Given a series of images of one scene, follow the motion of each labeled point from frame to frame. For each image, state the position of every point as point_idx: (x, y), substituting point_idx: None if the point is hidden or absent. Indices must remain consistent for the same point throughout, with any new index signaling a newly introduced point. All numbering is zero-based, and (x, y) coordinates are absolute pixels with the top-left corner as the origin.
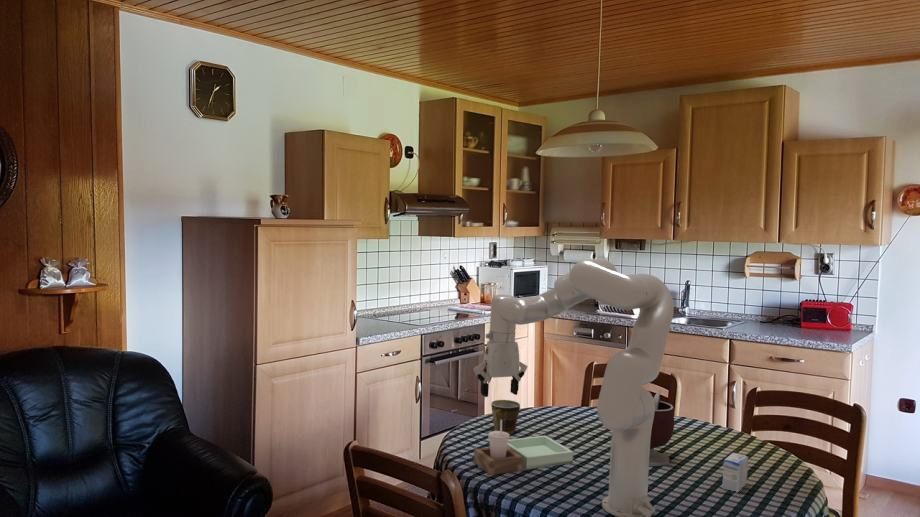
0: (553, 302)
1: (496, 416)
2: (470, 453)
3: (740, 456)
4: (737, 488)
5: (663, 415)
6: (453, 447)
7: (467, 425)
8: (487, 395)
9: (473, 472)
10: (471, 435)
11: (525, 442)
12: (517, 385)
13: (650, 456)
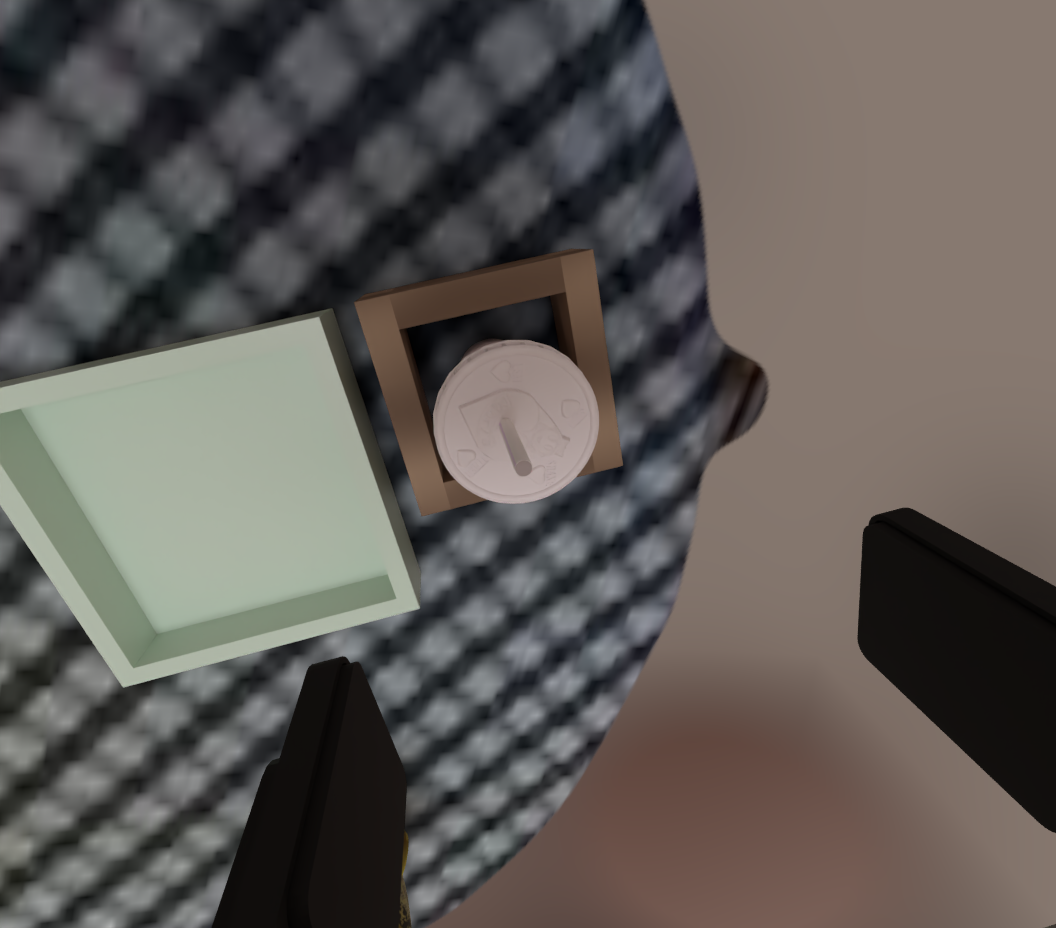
0: None
1: (405, 835)
2: (582, 552)
3: None
4: None
5: None
6: (637, 622)
7: (502, 853)
8: (900, 518)
9: (644, 301)
10: (515, 754)
11: (272, 619)
12: (269, 825)
13: None
